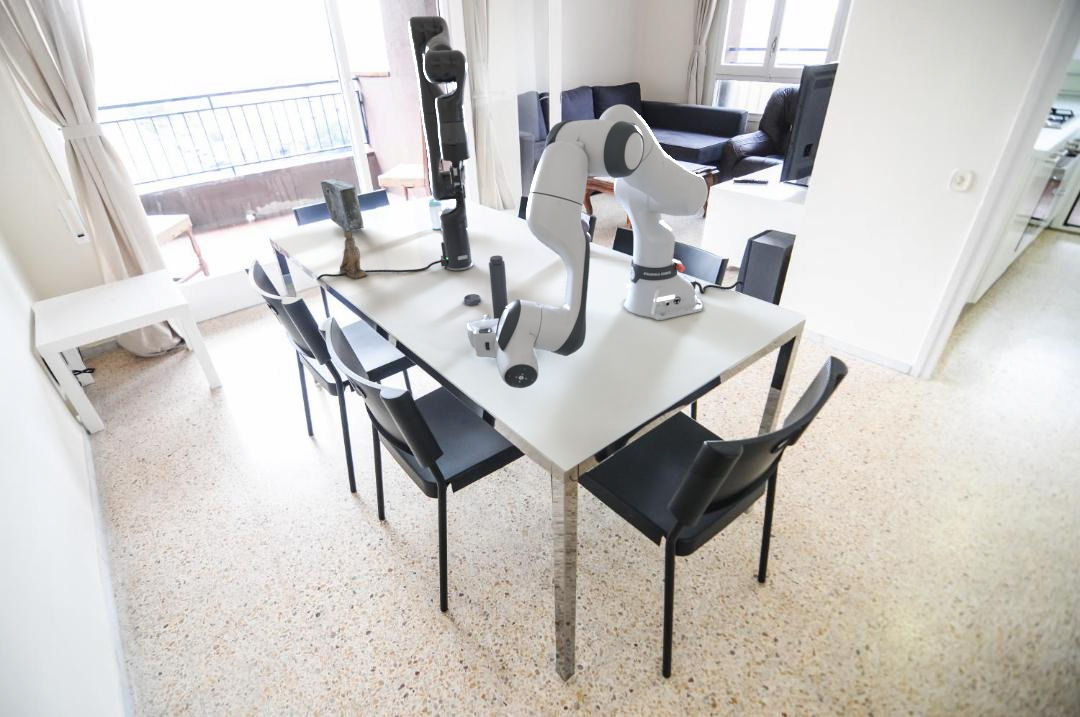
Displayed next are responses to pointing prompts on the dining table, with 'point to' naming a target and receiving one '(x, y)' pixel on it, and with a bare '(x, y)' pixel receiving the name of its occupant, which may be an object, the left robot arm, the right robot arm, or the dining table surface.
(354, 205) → the concrete block
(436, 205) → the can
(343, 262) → the worn brown figurine
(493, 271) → the grey cylinder
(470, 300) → the lid
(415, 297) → the dining table surface
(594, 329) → the dining table surface
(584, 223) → the cat figurine
